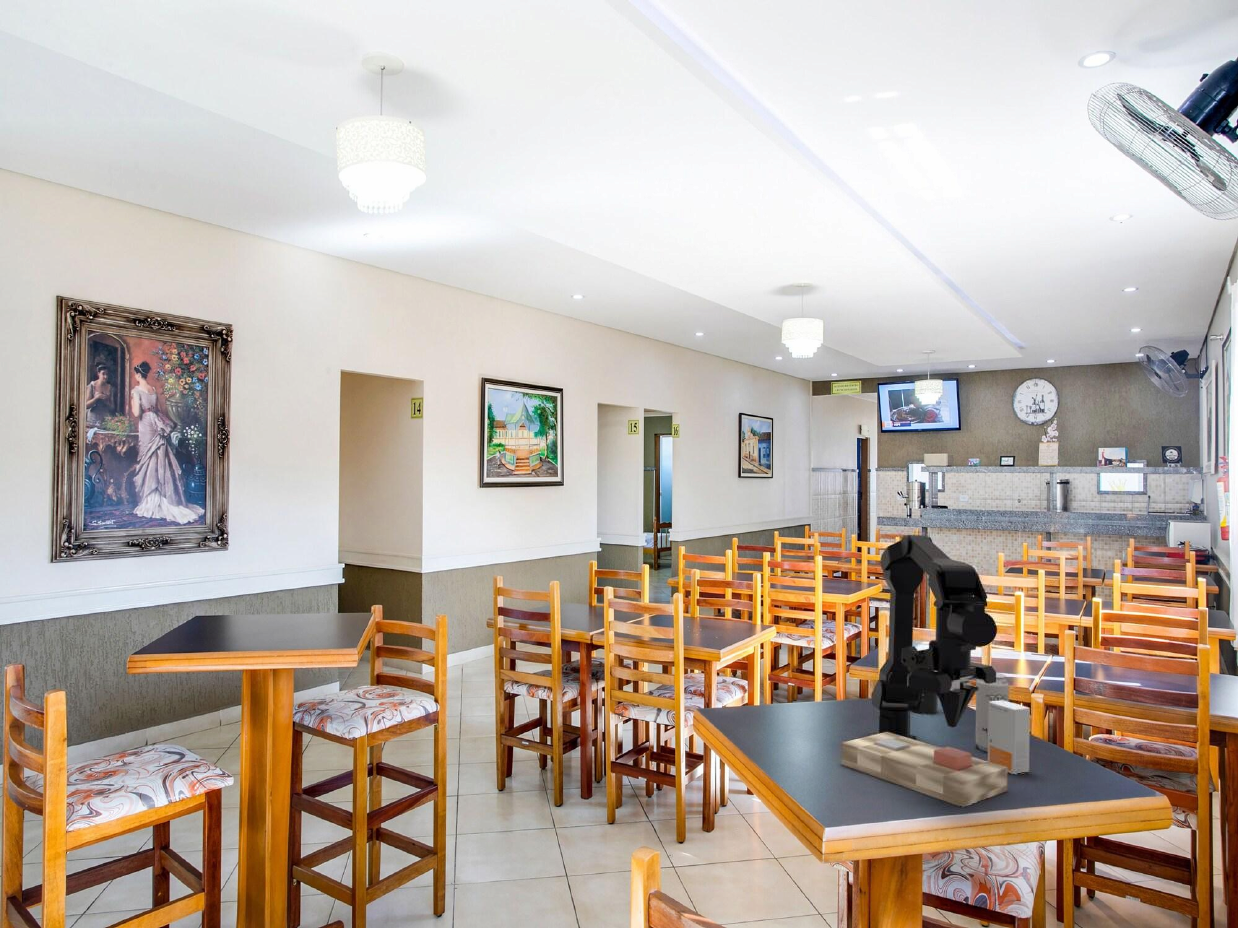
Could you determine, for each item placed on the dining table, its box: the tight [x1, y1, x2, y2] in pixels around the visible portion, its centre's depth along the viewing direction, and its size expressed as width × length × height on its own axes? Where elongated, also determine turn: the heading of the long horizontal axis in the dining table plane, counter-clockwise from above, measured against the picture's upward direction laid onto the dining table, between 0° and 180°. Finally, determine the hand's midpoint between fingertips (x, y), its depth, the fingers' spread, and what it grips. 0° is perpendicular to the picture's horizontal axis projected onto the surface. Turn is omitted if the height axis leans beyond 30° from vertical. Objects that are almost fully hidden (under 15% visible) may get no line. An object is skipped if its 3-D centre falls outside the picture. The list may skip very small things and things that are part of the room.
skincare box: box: [986, 700, 1031, 775], centre depth 148 cm, size 6×4×12 cm
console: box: [840, 732, 1008, 808], centre depth 141 cm, size 14×24×4 cm, turn 36°
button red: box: [934, 746, 973, 771], centre depth 137 cm, size 4×4×4 cm
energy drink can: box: [975, 672, 1010, 753], centre depth 160 cm, size 6×6×15 cm
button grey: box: [875, 738, 910, 751], centre depth 146 cm, size 4×4×4 cm
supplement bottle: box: [912, 668, 939, 715], centre depth 189 cm, size 7×7×12 cm
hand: (951, 726), depth 137 cm, fingers closed
